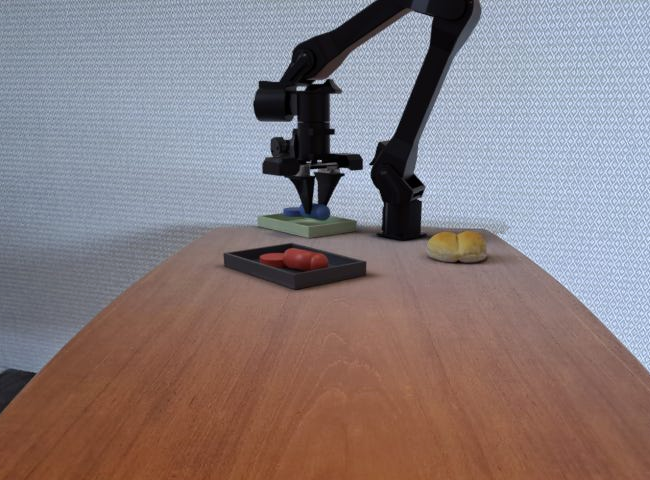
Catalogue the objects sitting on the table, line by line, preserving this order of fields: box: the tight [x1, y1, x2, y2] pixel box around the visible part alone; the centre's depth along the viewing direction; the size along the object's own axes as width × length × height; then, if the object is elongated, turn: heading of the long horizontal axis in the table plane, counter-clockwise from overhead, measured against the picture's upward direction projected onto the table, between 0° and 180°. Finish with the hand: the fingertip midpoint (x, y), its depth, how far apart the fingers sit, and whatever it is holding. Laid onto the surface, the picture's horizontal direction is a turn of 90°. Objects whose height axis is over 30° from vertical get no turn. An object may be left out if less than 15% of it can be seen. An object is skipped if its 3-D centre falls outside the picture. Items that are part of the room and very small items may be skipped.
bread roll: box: [426, 230, 488, 264], centre depth 101 cm, size 8×9×4 cm
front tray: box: [222, 242, 367, 290], centre depth 94 cm, size 17×12×2 cm
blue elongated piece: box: [282, 202, 331, 221], centre depth 124 cm, size 12×5×3 cm, turn 40°
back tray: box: [256, 212, 358, 239], centre depth 125 cm, size 16×11×2 cm
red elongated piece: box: [260, 248, 329, 272], centre depth 93 cm, size 12×5×3 cm, turn 47°
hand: (314, 213), depth 123 cm, fingers closed on blue elongated piece, 3 cm apart
